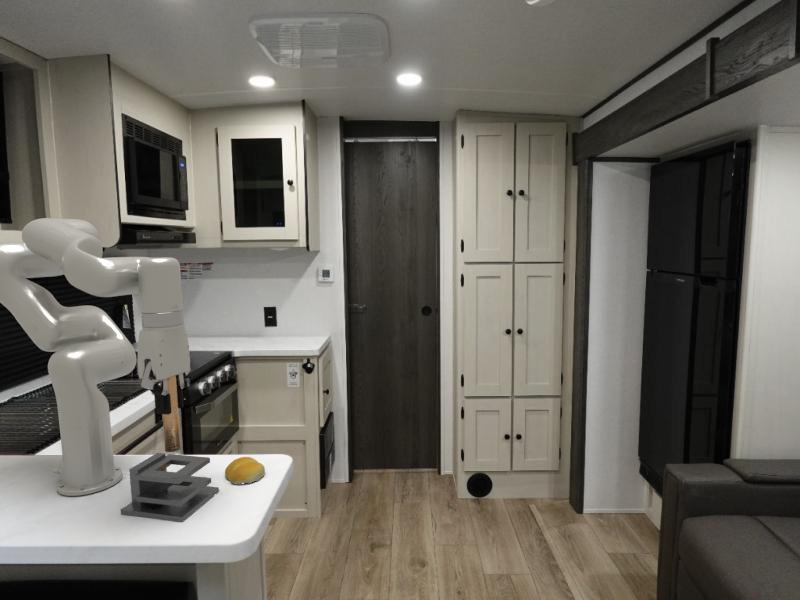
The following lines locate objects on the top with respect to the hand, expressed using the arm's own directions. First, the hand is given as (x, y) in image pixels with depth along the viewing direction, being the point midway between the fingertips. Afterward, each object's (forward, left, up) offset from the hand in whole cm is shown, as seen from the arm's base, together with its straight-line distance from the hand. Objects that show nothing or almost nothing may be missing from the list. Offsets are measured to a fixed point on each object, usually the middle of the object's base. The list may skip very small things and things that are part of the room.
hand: (169, 409), depth 101 cm
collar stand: (0, 0, -20) cm, 20 cm away
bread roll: (+7, +14, -20) cm, 26 cm away
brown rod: (0, 0, -8) cm, 8 cm away
